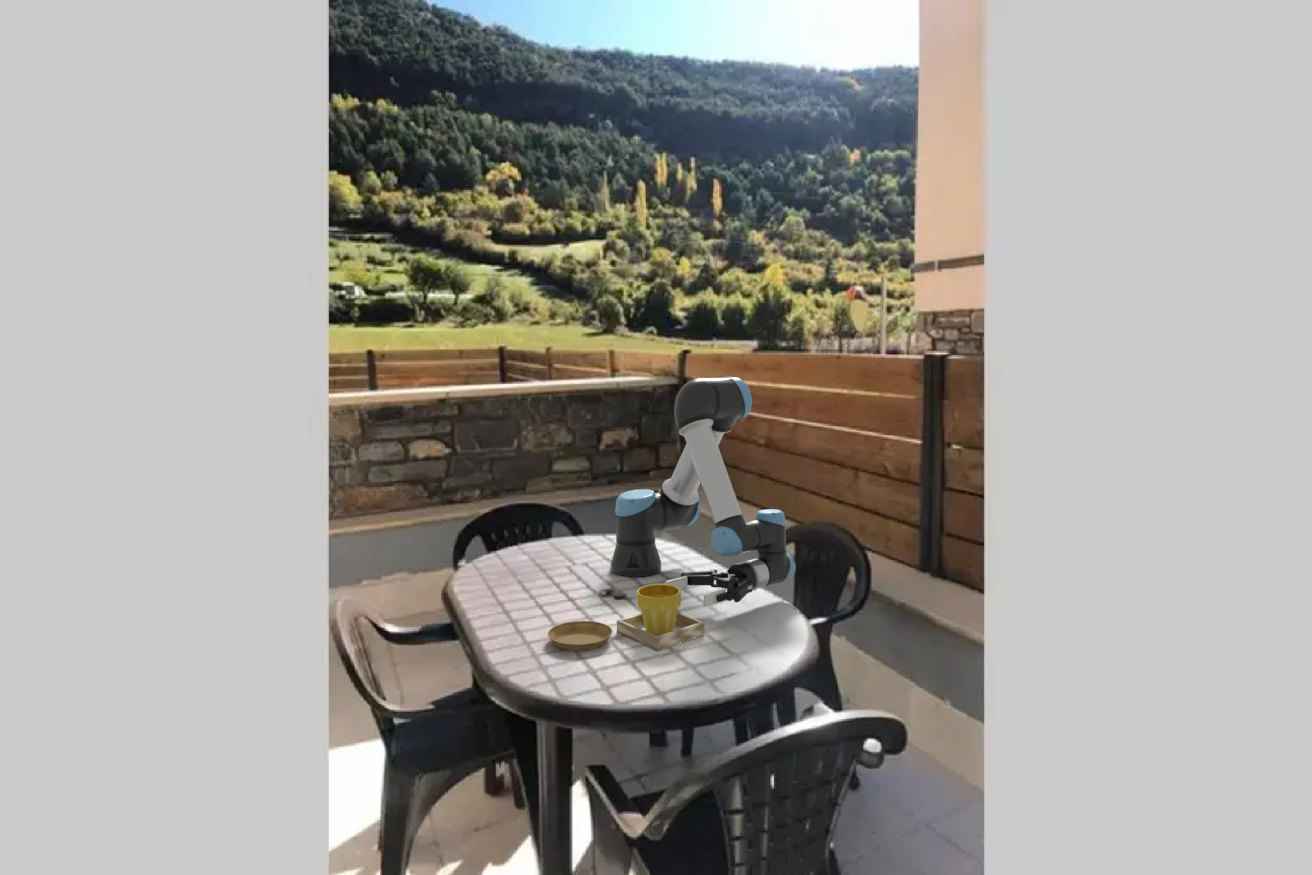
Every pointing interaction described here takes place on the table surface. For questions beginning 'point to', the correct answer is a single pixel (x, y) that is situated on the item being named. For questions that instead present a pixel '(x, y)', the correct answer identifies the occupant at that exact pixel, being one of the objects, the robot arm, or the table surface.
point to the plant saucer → (580, 635)
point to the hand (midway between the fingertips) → (685, 593)
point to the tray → (682, 632)
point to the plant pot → (659, 607)
